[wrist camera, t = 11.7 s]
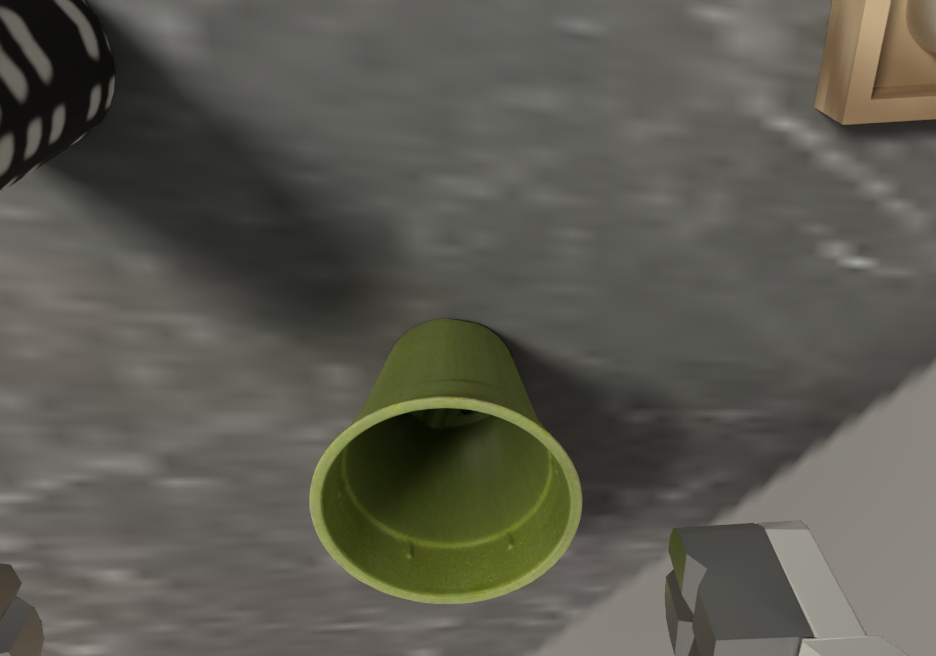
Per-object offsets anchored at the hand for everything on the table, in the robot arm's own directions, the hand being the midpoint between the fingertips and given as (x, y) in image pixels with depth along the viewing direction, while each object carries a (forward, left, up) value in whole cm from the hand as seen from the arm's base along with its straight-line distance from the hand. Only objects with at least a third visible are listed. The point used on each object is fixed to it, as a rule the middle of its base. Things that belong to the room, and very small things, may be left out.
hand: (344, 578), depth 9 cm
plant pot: (+16, 0, -29) cm, 33 cm away
